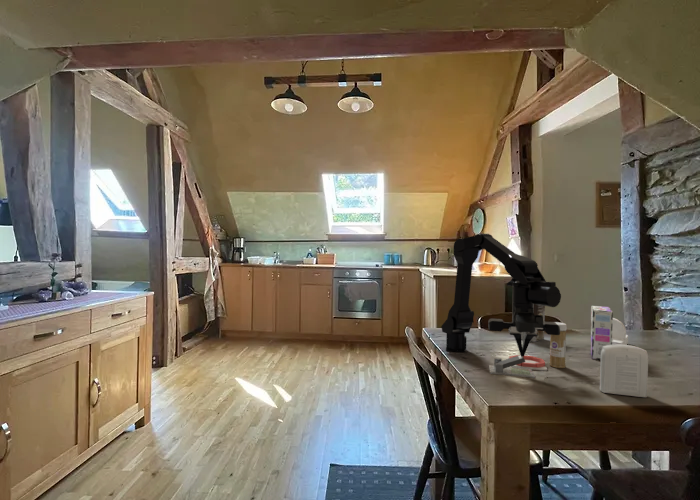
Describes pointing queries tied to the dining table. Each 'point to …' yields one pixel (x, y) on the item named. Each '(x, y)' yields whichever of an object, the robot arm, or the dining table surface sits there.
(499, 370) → the panel
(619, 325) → the u-slot stand
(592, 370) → the dining table surface
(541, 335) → the coffee box
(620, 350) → the photo printer
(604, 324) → the candy box
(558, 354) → the sprinkles bottle
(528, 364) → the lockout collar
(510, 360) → the block
